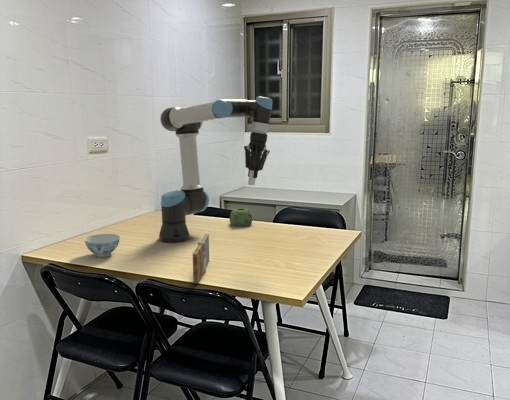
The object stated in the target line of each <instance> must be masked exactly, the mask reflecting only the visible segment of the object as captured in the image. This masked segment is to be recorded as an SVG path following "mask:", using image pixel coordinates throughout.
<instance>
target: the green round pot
mask: <svg viewBox="0 0 510 400" xmlns="http://www.w3.org/2000/svg"><path fill="white" fill-rule="evenodd" d="M229 221H230V222H229V223H230V224H231V225H232V226H235V227H247V226H250V225H251V224H252V223H253V216H252V213H251V211H250V209H249V208H245V207H244V208H243V207H237V208H235V209H232V211H231V212H230V215H229Z"/></svg>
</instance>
